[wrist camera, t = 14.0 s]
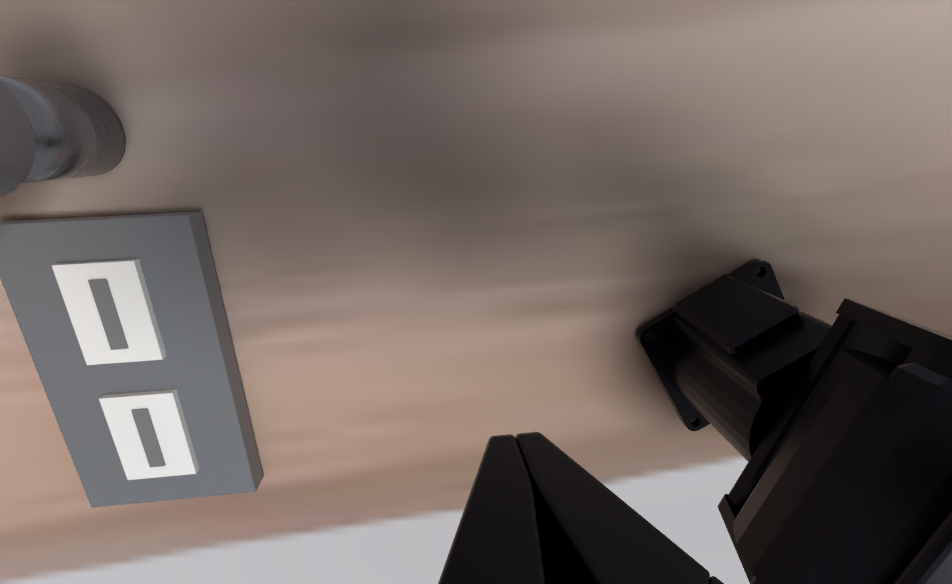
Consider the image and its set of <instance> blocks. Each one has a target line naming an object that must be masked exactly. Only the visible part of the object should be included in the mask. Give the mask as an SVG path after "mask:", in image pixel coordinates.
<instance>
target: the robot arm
mask: <svg viewBox="0 0 952 584" xmlns="http://www.w3.org/2000/svg"><path fill="white" fill-rule="evenodd" d="M759 267H760V271H759V273H758V274H757V275H755V272H756V270H757V269H758V268H759ZM836 313H838V314H839V316H838V317H837V319H836V320H835V322H834V324H833V325H830V324H828V323H826V322H824V321H822V320H819V319H817V318H815V317H813V316H811V315H809V314H806V313H804V312H802V311H800V310H799V308H798V307H797V306H795V305H793V304H791V303H789V302H787V301H785V300H784V297H783V295H782V292H781V290H780V287H779V285H778V282H777V280H776V277H775V275H774V272H773V269H772V267H771V265H770V264H769V263H768V262H766V261H763V260H760V259H754V260H752V261H750V262H748V263H746V264H745V265H743V266H741V267H740V268H738V269H736V270H735V271H733V272H731V273H730V274H728V275H723V276H721V277H720V278H718V279H716V280H715V281H713V282H711V283H710V284H708V285H706V286H705V287H703V288H701V289H700V290H698V291H696V292H694V293H693V294H691V295H689V296H688V297H686V298H684V299H683V300H681V301H679V302H678V303H676V305H675V306H674V307H672V308H671V309H669V310H667V311H666V312H664V313H662V314H661V315H659V316H657V317H656V318H654V319H652V320H651V321H649V322H647V323H646V324H644V325H642V326H641V327H640V328H639V329H638V330H637V332H636V338H637V341H638V343H639V344H640V346H641V348H642V350H643V352H644V353H645V355H646V357H647V359H648V361H649V363H650V364H651V366H652V368H653V370H654V372H655V373H656V375H657V377H658V379H659V381H660V382H661V384H662V386H663V388H664V390H665V392H666V393H667V395H668V397H669V399H670V401H671V402H672V404H673V406H674V408H675V410H676V412H677V413H678V415H679V417H680V419H681V421H682V422H683V424H684V425H685V426H686V427H687V428H688V429H689V430H691V431H697V430H700V429H701V428H703V427H705V426H707V425H709V424H711V425H712V426H713V427H714V428H715V429H716V430H717V431H718V432H719V433H720V434H721V435H722V436H723V437H724V438H725V439H726V440H727V441H728V442H729V443H730V444H731V445H732V446H733V447H734V448H735V449H736V450H737V451H738V452H739V453H740V454H741V455H742V456H743V457H744V458H745V459H746V460H747V461H748V464H747V465H746V467H745V469H744V470H743V472H742V474H741V475H740V477H739V478H738V480H737V482H736V483H735V485H734V487H733V488H732V490H731V491H730V493H729V494H725V495H724V497H723V498H722V500H721V502H720V503H719V505H718V509H719V511H720V513H721V516H722V518H723V520H724V523H725V525H726V528H727V530H728V532H729V535H730V537H731V539H732V542H733V544H734V547H735V549H736V551H737V553H738V556H739V558H740V561H741V563H742V565H743V568H744V570H745V573H746V575H747V577H748V580H749V582H750V584H952V336H949V335H947V334H944V333H941V332H938V331H935V330H933V329H930V328H927V327H924V326H921V325H919V324H916V323H913V322H910V321H907V320H905V319H902V318H899V317H896V316H893V315H891V314H888V313H885V312H882V311H879V310H877V309H874V308H871V307H868V306H865V305H863V304H860V303H857V302H854V301H851V300H849V299H846V298H845V299H844V300H843V302H842V304H841V305H840V307H839V309H838V310H837V312H836ZM650 332H652V335H651V337H650V338H648V339H645V336H646V335H647V334H648V333H650ZM695 418H696V419H695ZM693 419H695V420H694V421H693V422H692V420H693ZM438 584H724V583H722V582H721V581H720V580H719V579H717V578H716V577H714V576H712V577H710V574H709V572H708V571H707V570H706V569H705V568H704V567H703V566H701V565H700V564H699V563H698V562H696V561H695V560H694V559H693V558H692V557H690V556H689V555H688V554H687V553H686V552H684V551H683V550H682V549H681V548H679V547H678V546H677V545H676V544H675V543H673V542H672V541H671V540H670V539H669V538H667V537H666V536H665V535H664V534H662V533H661V532H660V531H659V530H658V529H656V528H655V527H654V526H652V524H650V523H649V522H648V521H647V520H645V519H644V518H643V517H642V516H641V515H639V514H638V513H637V512H636V511H635V510H633V509H632V508H631V507H630V506H628V505H627V504H626V503H625V502H624V501H622V500H621V499H620V498H619V497H617V496H616V495H615V494H614V493H613V492H611V491H610V490H609V489H608V488H607V487H605V486H604V485H603V484H602V483H601V482H599V481H598V480H597V479H596V478H595V477H593V476H592V475H591V474H590V473H588V472H587V471H586V470H585V469H584V468H582V467H581V466H580V465H579V464H578V463H576V462H575V461H574V460H573V459H571V458H570V457H569V456H568V455H567V454H565V453H564V452H563V451H562V450H561V449H559V448H558V447H557V446H556V445H554V444H553V443H552V442H551V441H550V440H548V439H547V438H546V437H545V436H544V435H542V434H541V433H539V432H531V433H521V434H517V435H516V437H514V436H513V435H499V436H492V437H490V439H489V441H488V444H487V446H486V449H485V452H484V455H483V458H482V461H481V464H480V466H479V469H478V472H477V475H476V478H475V481H474V483H473V486H472V489H471V492H470V495H469V498H468V501H467V503H466V506H465V509H464V512H463V515H462V518H461V521H460V523H459V526H458V529H457V532H456V535H455V538H454V540H453V543H452V546H451V549H450V552H449V555H448V558H447V560H446V563H445V566H444V569H443V572H442V575H441V577H440V580H439V583H438Z"/></svg>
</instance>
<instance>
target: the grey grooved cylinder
mask: <svg viewBox="0 0 952 584" xmlns="http://www.w3.org/2000/svg"><path fill="white" fill-rule="evenodd" d="M0 82H1V83H2V84H3V85H5V86H6V87H7V88H8V90H9V91H10V92H11V93H12V94H13V95H14V96H15V98H16V99H17V100H18V102H19V103H20V104H21V106H22V108H23V109H24V111H25V113H26V115H27V117H28V119H29V121H30V123H31V126H32V129H33V133H34V138H35V148H36V151H35V160H34V164H33V167H32V169H31V171H30V174H29V175H28V177H27V178H26V180H25V181H24V182H23V183H25V182H35V181H45V180H55V179H64V178H74V177H84V176H94V175H100V174H104V173H106V172H108V171H110V170H112V169H113V168H114V167H115V166H116V165H117V164H118V163H119V162H120V160H121V158H122V156H123V154H124V149H125V135H124V130H123V127H122V125H121V123H120V120H119V118H118V117H117V115H116V114H115V112H114V111H113V110H112V108H111V107H110V106H109V105H108V104H107V103H106V102H104V101H103V100H102V99H101V98H99V97H98V96H96V95H95V94H93V93H91V92H89V91H87V90H84V89H81V88H78V87H72V86H65V85H59V84H52V83H45V82H39V81H32V80H26V79H19V78H12V77H6V76H0Z"/></svg>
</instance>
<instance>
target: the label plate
mask: <svg viewBox="0 0 952 584" xmlns="http://www.w3.org/2000/svg"><path fill="white" fill-rule="evenodd" d="M0 278H1V281H2V283H3V286H4V288H5V291H6V293H7V296H8V299H9V301H10V304H11V306H12V309H13V311H14V314H15V316H16V319H17V321H18V324H19V326H20V329H21V331H22V334H23V336H24V339H25V341H26V344H27V346H28V349H29V351H30V354H31V356H32V359H33V361H34V364H35V367H36V369H37V372H38V374H39V377H40V379H41V382H42V384H43V387H44V389H45V392H46V394H47V397H48V399H49V402H50V404H51V407H52V409H53V412H54V414H55V417H56V419H57V422H58V424H59V427H60V430H61V432H62V435H63V437H64V440H65V442H66V445H67V447H68V450H69V452H70V455H71V457H72V460H73V462H74V465H75V467H76V470H77V472H78V475H79V477H80V480H81V482H82V485H83V487H84V490H85V492H86V495H87V498H88V500H89V503H90V505H91V508H92V507H102V506H113V505H123V504H133V503H144V502H154V501H164V500H175V499H185V498H195V497H206V496H216V495H226V494H237V493H247V492H256V490H257V488H258V486H259V484H260V482H261V480H262V478H263V472H262V468H261V463H260V459H259V455H258V450H257V446H256V442H255V438H254V433H253V429H252V425H251V420H250V416H249V412H248V408H247V403H246V399H245V395H244V390H243V386H242V382H241V378H240V373H239V369H238V365H237V360H236V356H235V352H234V348H233V343H232V339H231V335H230V330H229V326H228V322H227V318H226V313H225V309H224V305H223V300H222V296H221V292H220V288H219V283H218V279H217V275H216V270H215V266H214V262H213V258H212V253H211V249H210V245H209V240H208V236H207V232H206V228H205V223H204V219H203V215H202V211H196V212H175V213H155V214H134V215H114V216H94V217H73V218H53V219H32V220H12V221H2V222H0Z"/></svg>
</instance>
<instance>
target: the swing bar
mask: <svg viewBox="0 0 952 584" xmlns="http://www.w3.org/2000/svg"><path fill="white" fill-rule="evenodd" d="M35 151H36V148H35V138H34V133H33V129H32V126H31V123H30V121H29V119H28V117H27V115H26V113H25V111H24V109H23V108H22V106H21V104H20V103H19V102H18V100H17V99H16V98H15V96H14V95H13V94H12V93H11V92H10V91H9V90H8V88H7V87H6V86H5V85H3V84H2V83H1V82H0V196H1V195H4V194H7V193H9V192H11V191H13V190H14V189H16V188H17V187H18V186H20V185H21V184H22V183H23V182H24V181H25V180H26V178H27V177H28V175H29V174H30V171H31V169H32V167H33V164H34V160H35Z"/></svg>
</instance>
